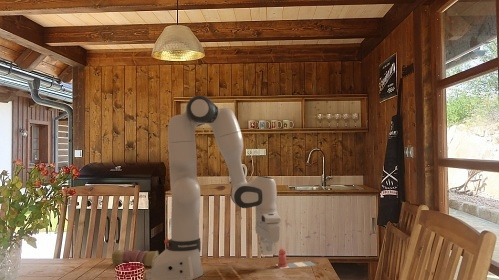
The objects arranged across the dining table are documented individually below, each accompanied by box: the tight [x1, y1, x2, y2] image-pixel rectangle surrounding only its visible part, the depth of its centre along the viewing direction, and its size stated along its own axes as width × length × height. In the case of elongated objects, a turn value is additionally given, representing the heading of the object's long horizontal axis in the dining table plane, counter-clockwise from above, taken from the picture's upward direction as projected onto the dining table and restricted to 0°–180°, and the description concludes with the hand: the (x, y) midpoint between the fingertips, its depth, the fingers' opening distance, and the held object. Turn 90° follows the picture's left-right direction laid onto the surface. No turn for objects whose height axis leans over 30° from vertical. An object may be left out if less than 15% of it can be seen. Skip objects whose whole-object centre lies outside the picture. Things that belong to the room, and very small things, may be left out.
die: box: [258, 239, 276, 256], centre depth 157 cm, size 6×5×5 cm
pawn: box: [277, 248, 288, 268], centre depth 159 cm, size 4×4×7 cm
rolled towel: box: [111, 249, 160, 267], centre depth 166 cm, size 8×8×20 cm
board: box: [275, 260, 316, 270], centre depth 161 cm, size 16×6×1 cm, turn 106°
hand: (266, 249), depth 157 cm, fingers closed on die, 5 cm apart
